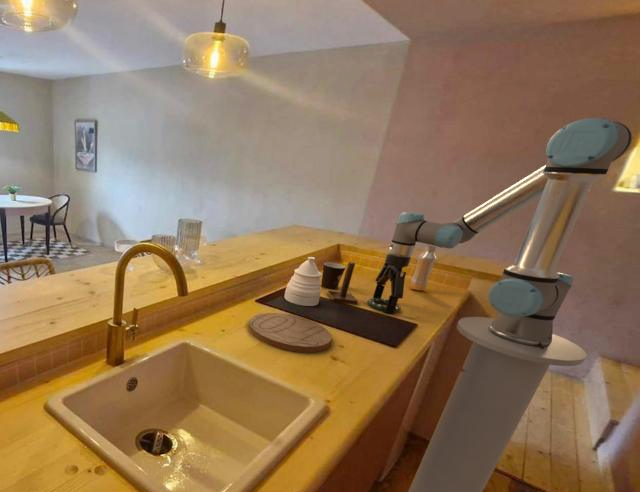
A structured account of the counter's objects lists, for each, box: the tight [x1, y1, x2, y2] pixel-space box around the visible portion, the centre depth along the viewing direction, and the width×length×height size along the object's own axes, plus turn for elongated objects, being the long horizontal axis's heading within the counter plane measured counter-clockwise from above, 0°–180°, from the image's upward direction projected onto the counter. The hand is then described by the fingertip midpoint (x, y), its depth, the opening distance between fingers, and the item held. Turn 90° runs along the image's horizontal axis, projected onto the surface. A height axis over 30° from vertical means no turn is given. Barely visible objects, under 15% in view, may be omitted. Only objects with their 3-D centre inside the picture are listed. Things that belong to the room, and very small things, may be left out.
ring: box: [366, 297, 401, 313], centre depth 153 cm, size 11×11×2 cm
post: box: [327, 261, 359, 305], centre depth 157 cm, size 9×9×16 cm
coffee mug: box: [320, 262, 346, 290], centre depth 173 cm, size 12×9×10 cm
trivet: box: [248, 312, 332, 353], centre depth 127 cm, size 25×25×2 cm
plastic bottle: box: [408, 245, 437, 292], centre depth 172 cm, size 6×7×20 cm
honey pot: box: [284, 256, 323, 307], centre depth 153 cm, size 13×13×18 cm
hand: (382, 306), depth 154 cm, fingers open, 13 cm apart
